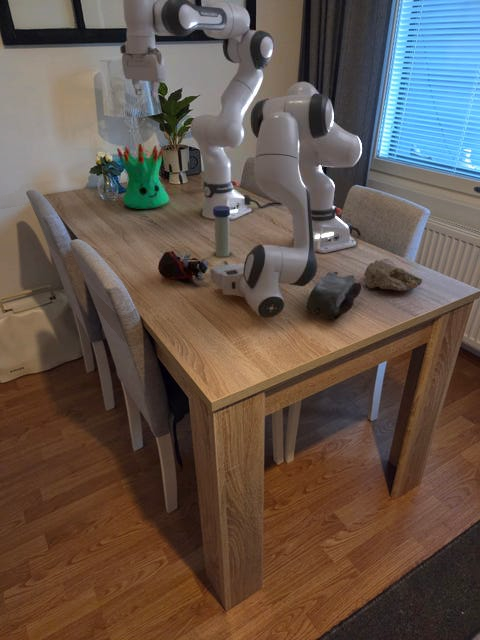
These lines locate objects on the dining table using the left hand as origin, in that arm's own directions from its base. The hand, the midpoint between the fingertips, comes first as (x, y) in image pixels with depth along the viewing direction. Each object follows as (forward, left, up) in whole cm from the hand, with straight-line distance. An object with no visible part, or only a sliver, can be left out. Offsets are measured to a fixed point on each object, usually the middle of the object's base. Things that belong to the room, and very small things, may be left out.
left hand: (146, 95), depth 149 cm
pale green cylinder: (-4, +34, -48) cm, 58 cm away
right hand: (+5, +51, -42) cm, 67 cm away
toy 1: (-15, -33, -48) cm, 60 cm away
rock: (-2, +83, -48) cm, 96 cm away
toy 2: (+19, +41, -48) cm, 66 cm away
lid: (-4, +34, -32) cm, 46 cm away
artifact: (-26, +85, -48) cm, 101 cm away
